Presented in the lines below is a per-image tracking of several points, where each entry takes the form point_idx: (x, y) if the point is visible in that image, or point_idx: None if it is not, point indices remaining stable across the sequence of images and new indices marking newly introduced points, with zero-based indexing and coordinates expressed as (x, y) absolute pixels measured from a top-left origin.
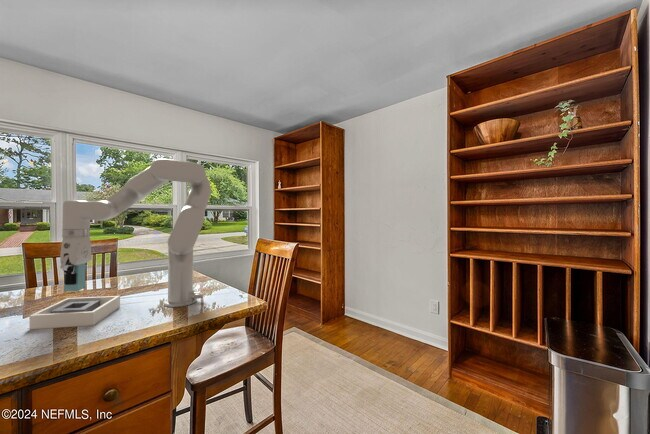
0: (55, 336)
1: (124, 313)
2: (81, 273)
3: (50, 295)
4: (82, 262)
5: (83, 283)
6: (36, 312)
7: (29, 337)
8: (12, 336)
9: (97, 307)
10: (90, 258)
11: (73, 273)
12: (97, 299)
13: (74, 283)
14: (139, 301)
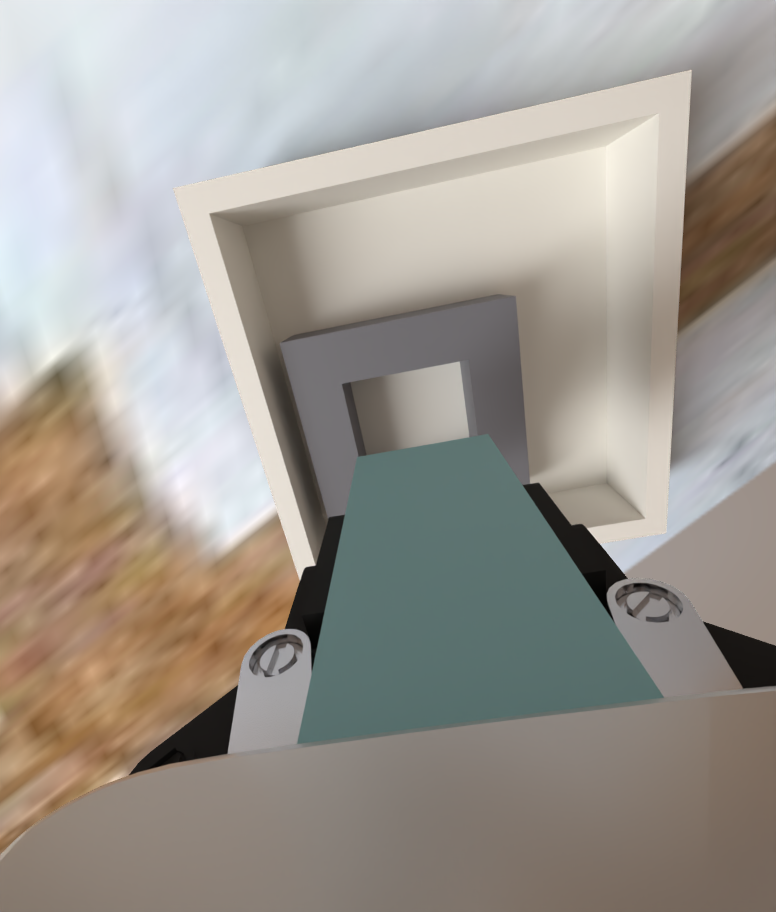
0: (761, 258)
1: (359, 36)
2: (453, 553)
3: (117, 779)
4: (626, 741)
5: (388, 475)
6: (605, 542)
7: (732, 403)
8: (692, 497)
9: (326, 329)
10: (44, 894)
11: (651, 584)
12: (265, 379)
13: (541, 492)
14: (45, 120)
